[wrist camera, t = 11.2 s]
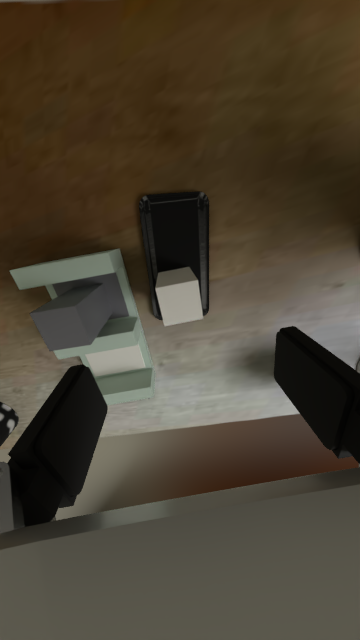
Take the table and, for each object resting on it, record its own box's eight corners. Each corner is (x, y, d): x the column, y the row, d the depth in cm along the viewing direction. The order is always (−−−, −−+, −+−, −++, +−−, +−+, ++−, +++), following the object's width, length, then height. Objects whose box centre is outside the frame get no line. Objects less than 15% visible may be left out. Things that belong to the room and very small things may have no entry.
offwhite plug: (188, 265, 24) (197, 280, 17) (193, 294, 26) (203, 318, 19) (158, 271, 25) (155, 288, 17) (164, 300, 26) (164, 326, 19)
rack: (119, 248, 23) (107, 252, 18) (155, 373, 32) (153, 397, 27) (39, 263, 23) (9, 270, 19) (97, 383, 32) (85, 409, 27)
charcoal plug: (103, 283, 23) (75, 306, 16) (112, 312, 25) (91, 344, 18) (71, 288, 23) (29, 313, 16) (83, 317, 25) (49, 351, 18)
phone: (208, 190, 20) (209, 316, 27) (206, 192, 22) (207, 313, 28) (136, 195, 20) (153, 320, 27) (138, 197, 21) (154, 317, 28)
